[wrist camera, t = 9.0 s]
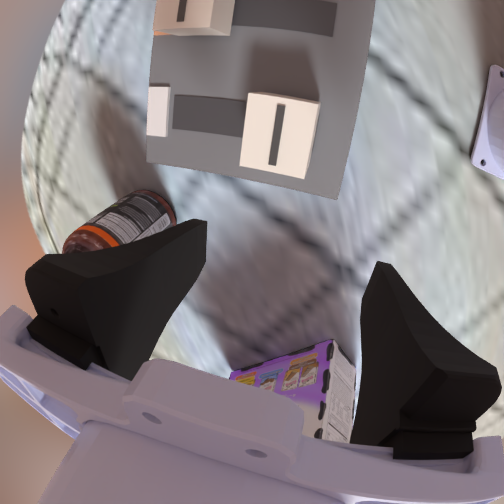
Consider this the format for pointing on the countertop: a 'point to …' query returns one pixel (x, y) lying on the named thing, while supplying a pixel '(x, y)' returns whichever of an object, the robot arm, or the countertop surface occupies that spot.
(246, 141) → the knob
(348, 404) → the candy box
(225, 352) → the countertop surface
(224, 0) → the knob
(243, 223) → the countertop surface
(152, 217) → the supplement bottle
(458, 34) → the countertop surface
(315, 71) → the panel
